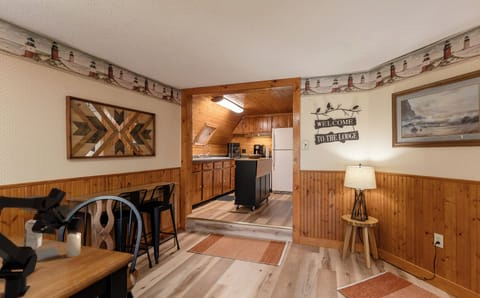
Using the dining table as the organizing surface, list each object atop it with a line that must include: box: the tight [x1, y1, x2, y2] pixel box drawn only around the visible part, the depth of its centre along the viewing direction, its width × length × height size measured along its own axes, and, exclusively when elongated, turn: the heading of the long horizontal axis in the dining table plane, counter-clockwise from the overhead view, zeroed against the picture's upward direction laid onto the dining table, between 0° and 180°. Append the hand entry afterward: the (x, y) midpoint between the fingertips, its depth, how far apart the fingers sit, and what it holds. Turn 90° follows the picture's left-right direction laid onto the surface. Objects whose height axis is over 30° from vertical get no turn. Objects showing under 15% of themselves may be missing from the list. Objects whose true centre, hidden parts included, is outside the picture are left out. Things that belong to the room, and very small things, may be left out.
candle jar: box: [65, 232, 82, 258], centre depth 115 cm, size 6×6×10 cm
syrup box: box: [23, 219, 43, 250], centre depth 123 cm, size 6×6×14 cm
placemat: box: [34, 245, 61, 263], centre depth 115 cm, size 16×11×1 cm
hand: (66, 233), depth 110 cm, fingers open, 9 cm apart
